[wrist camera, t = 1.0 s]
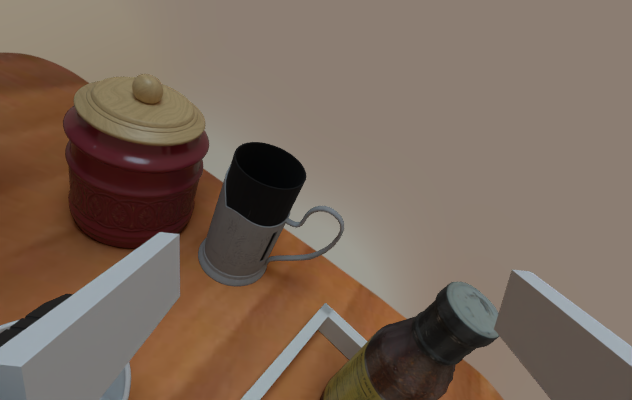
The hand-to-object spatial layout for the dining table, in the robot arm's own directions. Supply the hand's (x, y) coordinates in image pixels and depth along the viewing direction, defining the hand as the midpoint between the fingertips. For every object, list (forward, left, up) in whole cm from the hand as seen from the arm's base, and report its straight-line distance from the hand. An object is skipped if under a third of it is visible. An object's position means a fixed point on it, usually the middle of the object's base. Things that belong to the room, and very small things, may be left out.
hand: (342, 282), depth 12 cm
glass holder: (-11, +15, -23) cm, 29 cm away
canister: (-26, +9, -23) cm, 36 cm away
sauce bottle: (+7, +10, -23) cm, 26 cm away
